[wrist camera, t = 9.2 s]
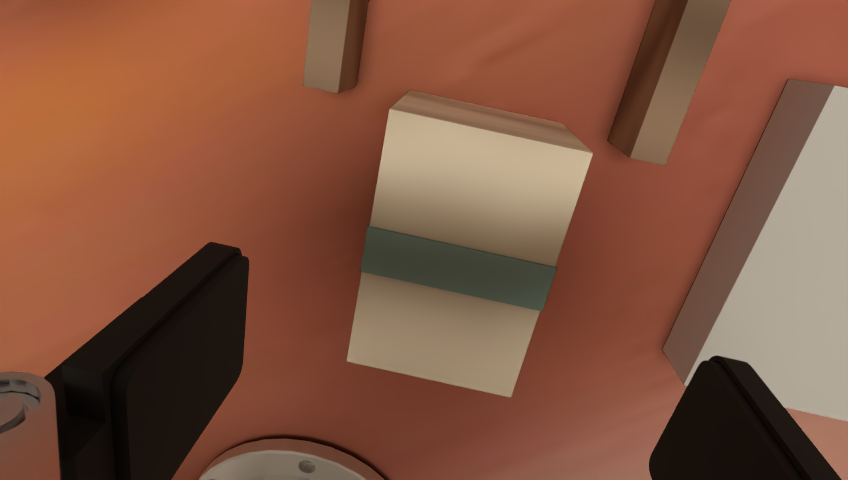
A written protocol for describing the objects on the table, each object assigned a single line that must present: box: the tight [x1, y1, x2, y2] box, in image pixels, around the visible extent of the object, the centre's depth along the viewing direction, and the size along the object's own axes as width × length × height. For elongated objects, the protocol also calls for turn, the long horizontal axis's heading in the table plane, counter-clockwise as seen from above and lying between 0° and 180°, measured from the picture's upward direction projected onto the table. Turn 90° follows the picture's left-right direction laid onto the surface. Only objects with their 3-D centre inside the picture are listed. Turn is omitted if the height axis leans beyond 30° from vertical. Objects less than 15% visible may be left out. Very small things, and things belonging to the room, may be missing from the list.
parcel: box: [347, 90, 593, 398], centre depth 19 cm, size 9×6×6 cm
